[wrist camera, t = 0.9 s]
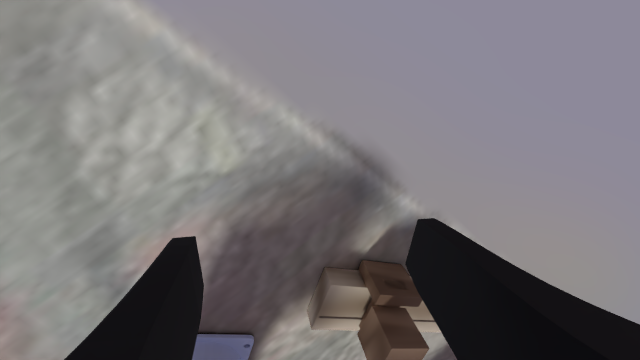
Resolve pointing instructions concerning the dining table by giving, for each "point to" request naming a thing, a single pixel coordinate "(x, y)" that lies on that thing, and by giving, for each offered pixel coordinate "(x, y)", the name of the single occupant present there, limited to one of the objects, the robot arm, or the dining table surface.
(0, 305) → the dining table surface
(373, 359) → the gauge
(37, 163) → the dining table surface
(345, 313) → the board
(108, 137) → the dining table surface
